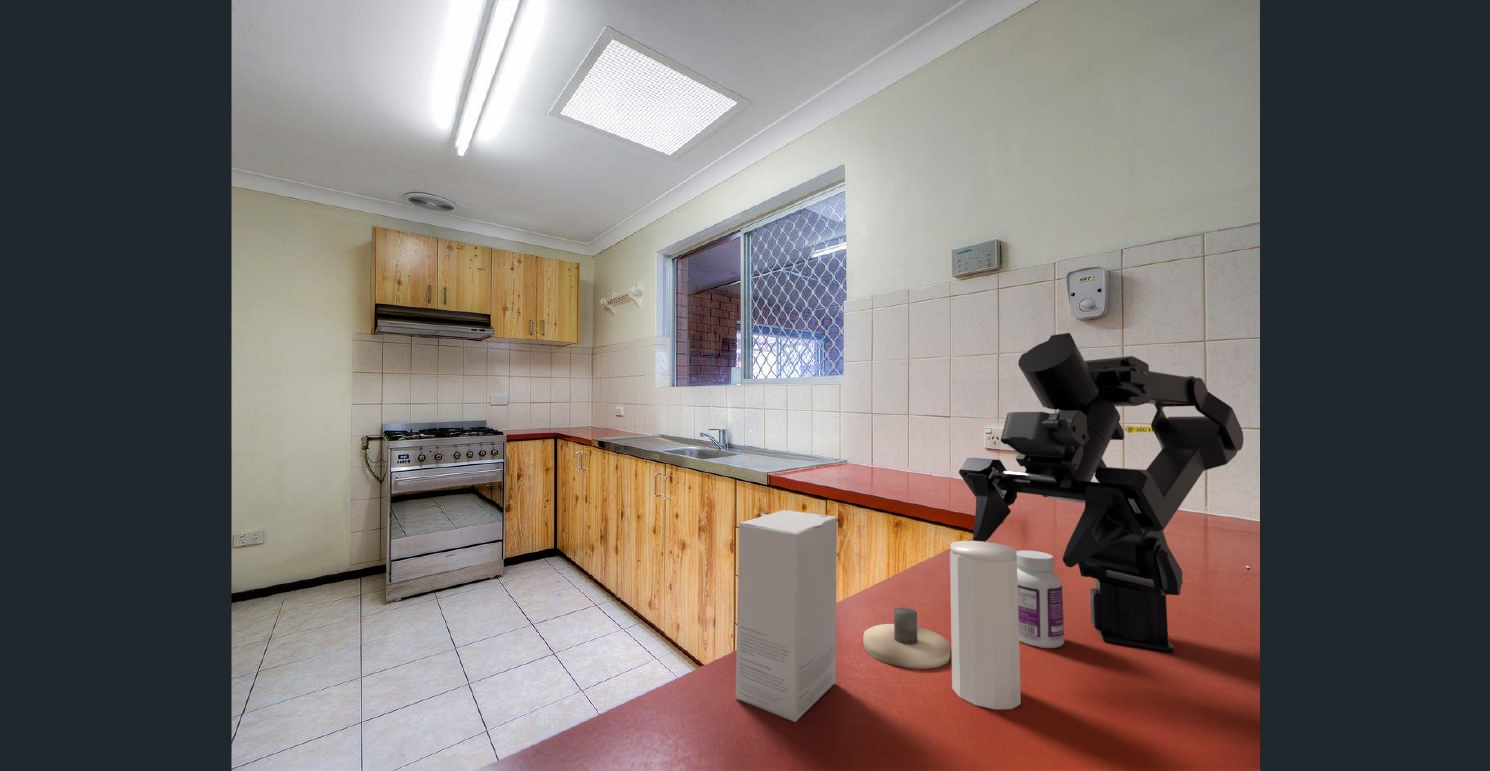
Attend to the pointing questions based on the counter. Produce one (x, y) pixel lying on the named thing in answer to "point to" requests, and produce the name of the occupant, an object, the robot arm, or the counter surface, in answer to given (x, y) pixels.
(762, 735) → the counter surface
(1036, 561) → the pill bottle
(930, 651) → the post base
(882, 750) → the counter surface
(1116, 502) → the robot arm
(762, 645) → the skincare box
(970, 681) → the white plastic canister
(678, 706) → the counter surface
